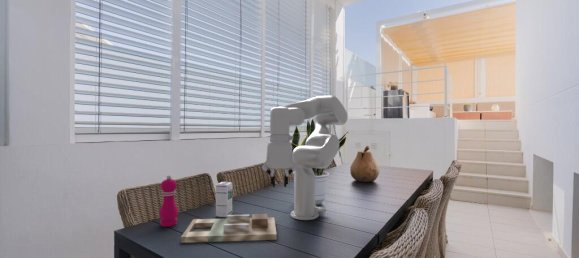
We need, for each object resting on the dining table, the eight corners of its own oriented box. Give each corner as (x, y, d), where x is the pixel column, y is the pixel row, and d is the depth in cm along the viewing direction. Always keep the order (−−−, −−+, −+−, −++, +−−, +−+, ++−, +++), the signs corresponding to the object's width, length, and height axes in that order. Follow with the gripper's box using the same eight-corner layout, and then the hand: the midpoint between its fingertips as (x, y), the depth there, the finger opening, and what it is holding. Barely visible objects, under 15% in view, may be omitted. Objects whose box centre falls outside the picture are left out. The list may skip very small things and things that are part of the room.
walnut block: (267, 222, 112) (267, 213, 112) (267, 228, 106) (267, 218, 106) (252, 222, 111) (252, 214, 111) (251, 228, 105) (251, 219, 105)
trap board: (274, 222, 118) (274, 211, 118) (276, 239, 100) (276, 227, 100) (193, 224, 115) (193, 213, 115) (180, 242, 97) (180, 229, 97)
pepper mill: (162, 221, 118) (163, 173, 118) (180, 220, 119) (180, 173, 118) (156, 227, 111) (156, 176, 111) (175, 227, 112) (175, 176, 111)
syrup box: (227, 217, 124) (227, 184, 123) (215, 216, 125) (215, 183, 124) (232, 213, 129) (233, 182, 129) (221, 212, 130) (221, 181, 130)
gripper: (299, 138, 113) (299, 184, 114) (258, 138, 112) (257, 184, 112) (302, 139, 106) (302, 188, 106) (258, 139, 104) (257, 188, 104)
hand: (279, 185), depth 109 cm, fingers open, 3 cm apart
